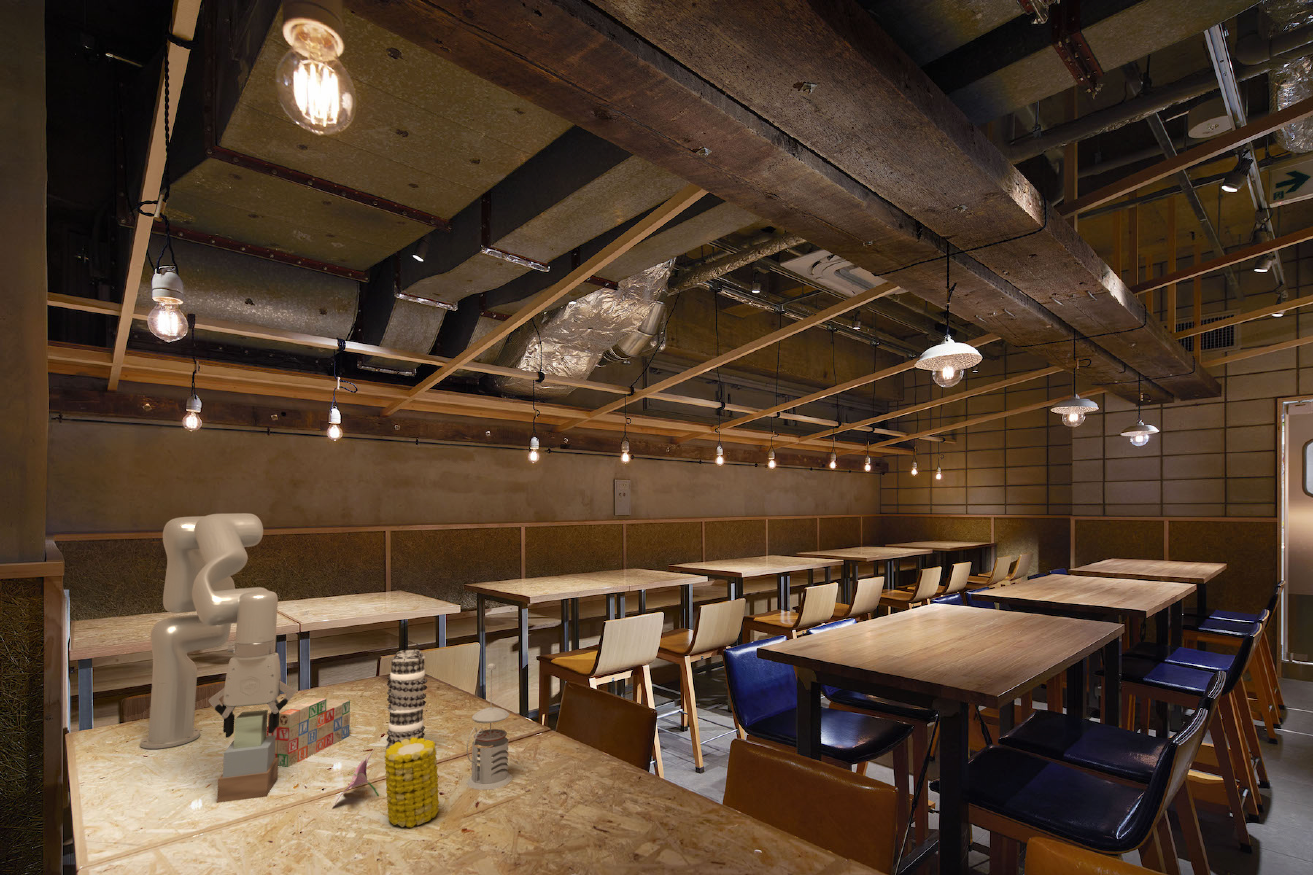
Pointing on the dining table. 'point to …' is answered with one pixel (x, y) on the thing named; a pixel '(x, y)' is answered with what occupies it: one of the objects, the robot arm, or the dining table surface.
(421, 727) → the decorative candle
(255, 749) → the tower top
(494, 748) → the french press
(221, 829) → the dining table surface
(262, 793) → the tower base
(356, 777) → the lily
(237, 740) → the sage block
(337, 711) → the stack of blocks
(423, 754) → the food
